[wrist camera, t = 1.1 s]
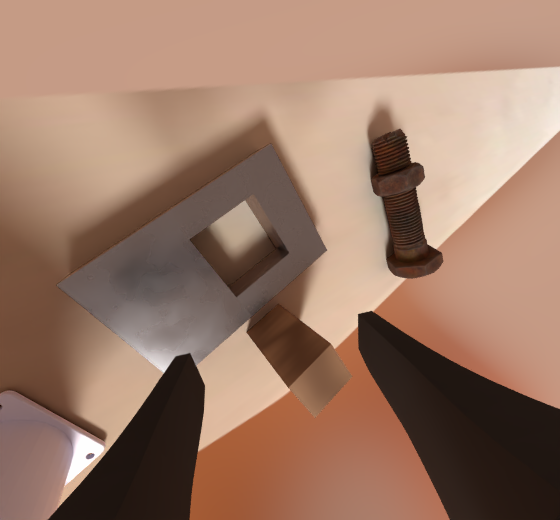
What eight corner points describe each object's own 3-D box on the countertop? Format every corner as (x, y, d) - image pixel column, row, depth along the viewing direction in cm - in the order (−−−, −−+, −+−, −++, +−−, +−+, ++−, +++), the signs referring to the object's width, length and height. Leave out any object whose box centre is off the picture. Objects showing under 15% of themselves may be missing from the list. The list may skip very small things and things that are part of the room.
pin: (268, 357, 24) (314, 418, 17) (246, 332, 23) (288, 387, 16) (297, 330, 25) (352, 376, 18) (278, 303, 24) (331, 344, 17)
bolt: (363, 142, 27) (391, 259, 32) (350, 149, 23) (384, 279, 29) (423, 118, 24) (443, 254, 29) (419, 123, 20) (443, 277, 25)
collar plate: (173, 363, 20) (176, 383, 18) (69, 274, 16) (55, 285, 14) (311, 246, 24) (327, 250, 22) (257, 150, 20) (271, 143, 18)
